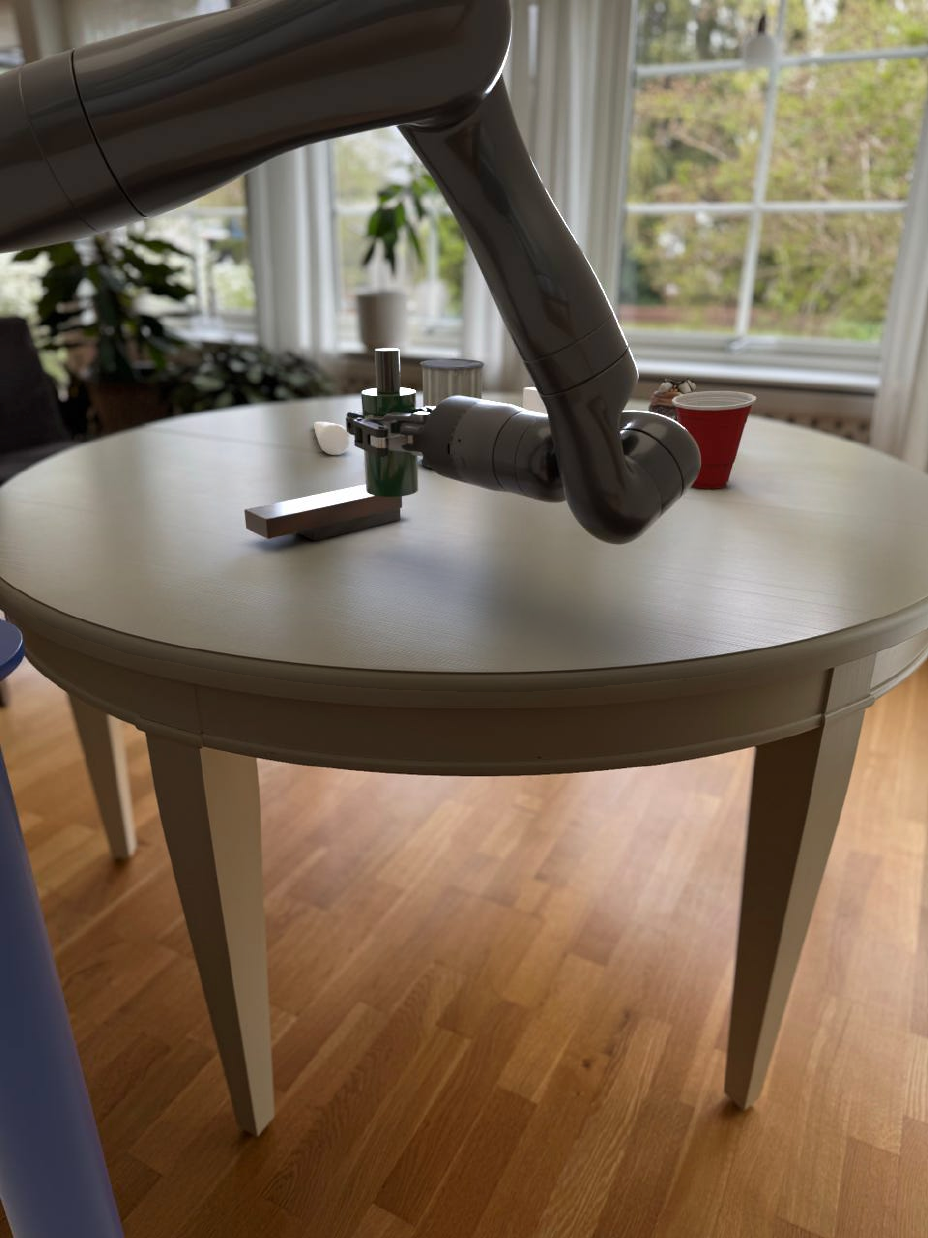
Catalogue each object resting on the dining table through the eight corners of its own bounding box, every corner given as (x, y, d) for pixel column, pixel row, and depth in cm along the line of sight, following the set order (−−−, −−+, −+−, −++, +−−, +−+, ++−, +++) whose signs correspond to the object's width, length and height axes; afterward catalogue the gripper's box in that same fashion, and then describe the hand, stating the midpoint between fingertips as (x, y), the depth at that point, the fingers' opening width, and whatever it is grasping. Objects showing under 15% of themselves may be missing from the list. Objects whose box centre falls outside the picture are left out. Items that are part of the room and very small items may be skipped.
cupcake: (648, 444, 141) (653, 382, 137) (643, 432, 150) (649, 374, 146) (707, 446, 140) (715, 383, 136) (699, 434, 149) (706, 375, 145)
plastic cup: (651, 476, 122) (659, 390, 117) (720, 472, 124) (731, 387, 119) (684, 496, 112) (694, 403, 108) (759, 492, 115) (772, 400, 110)
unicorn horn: (336, 425, 154) (335, 398, 152) (351, 455, 133) (349, 424, 131) (310, 426, 153) (308, 399, 151) (320, 457, 132) (318, 426, 130)
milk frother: (495, 467, 127) (497, 363, 121) (400, 481, 119) (397, 371, 113) (446, 448, 138) (445, 353, 132) (357, 460, 130) (352, 359, 124)
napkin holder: (582, 428, 153) (584, 395, 151) (519, 428, 153) (520, 395, 151) (571, 412, 167) (573, 382, 165) (513, 412, 167) (514, 382, 165)
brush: (269, 553, 91) (266, 519, 90) (247, 542, 95) (243, 509, 93) (402, 520, 102) (402, 489, 101) (379, 511, 105) (377, 481, 104)
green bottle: (386, 500, 85) (381, 353, 80) (355, 489, 89) (348, 349, 83) (428, 490, 88) (426, 349, 83) (397, 481, 92) (392, 345, 87)
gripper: (543, 392, 79) (427, 374, 90) (422, 411, 70) (311, 388, 82) (541, 472, 82) (429, 444, 93) (424, 500, 73) (316, 465, 85)
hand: (374, 418), depth 88 cm, fingers closed on green bottle, 5 cm apart
